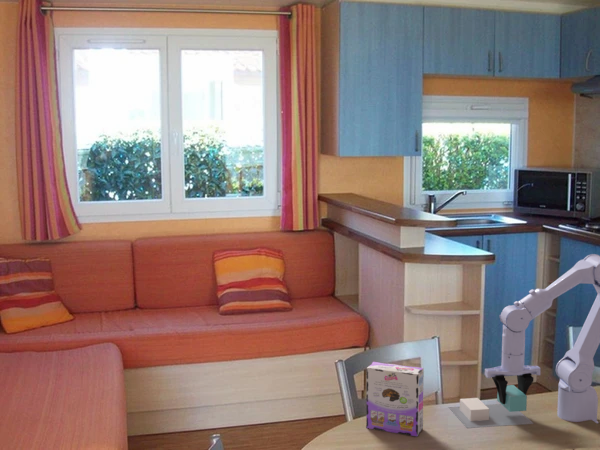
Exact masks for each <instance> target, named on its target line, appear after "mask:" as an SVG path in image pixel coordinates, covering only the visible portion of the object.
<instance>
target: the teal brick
mask: <svg viewBox="0 0 600 450" xmlns="http://www.w3.org/2000/svg"><path fill="white" fill-rule="evenodd" d="M496 391H497V390H496ZM496 394H497V395H496V397H497V398H496V401H497V402H498V404H502V403H501V402H500V400H499V395H498V391H497V393H496ZM527 399H528V395H527V394H526V395H525V394H524V393H523V392H522V391H520V390H519V389H518V386H517V387H516V386H515V385H514V384H507V388H506V402H505V404H502V405H503V406H504V407H505V408H506V409H507V410H508V411H509V412H515V411H520V412H524V411H525V412H526V411H527V401H528V400H527Z"/></svg>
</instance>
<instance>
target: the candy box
mask: <svg viewBox="0 0 600 450" xmlns="http://www.w3.org/2000/svg"><path fill="white" fill-rule="evenodd" d="M365 371H366V372H365V374H366V377H365V378H366V379H365V380H366V382H365V383H366V385H365V386H366V387H365V389H366V390H365V391H366V395H365V396H366V397H365V398H366V402H365V403H366V412H365V413H366V420H365V421H366V426H365V428H366V429H368V428H369V429H370V430H374V429H375V430H376V431H381V432H387V433H391V434H394V433H395V434H401V435H404V436H405V435H406V436H413V437H418V436H419V434H420V433H421V432H422V430H423V429H424V372H425V371H424V367H417V366H409V365H402V364H401V365H400V364H395V363H393V364H392V363H385V362H378V361H372V362H371V364H369V365H368V366H367V367H366V369H365Z"/></svg>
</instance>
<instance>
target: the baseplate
mask: <svg viewBox="0 0 600 450" xmlns="http://www.w3.org/2000/svg"><path fill="white" fill-rule="evenodd" d="M447 408H448V409H449V410H450V411H451V413H452V414H453V415H454V416H455V417H456V418H457V419H458V420H459V421H460V422H461V424H462V425H463V426H464V427H465V428H466V429H473V428H490V427H491V428H492V427H504V426H505V427H506V426H520V425H534V422H533V421H531V419H529V418H528V417H527V416H526V415H525V414H523V413H522V411H515V412H509V411H508V410H507V409H506V408H505V407H504V406H503V405H502V404H501V403H497V404H485V403H484V402H483V401H482V400H480V398H479V397H471V398H467V397H466V398H459V406H451V407H449V406H448V407H447Z"/></svg>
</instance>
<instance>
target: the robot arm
mask: <svg viewBox="0 0 600 450" xmlns="http://www.w3.org/2000/svg"><path fill="white" fill-rule="evenodd" d="M581 284H586V285H587V284H588V285H589V284H590V285H592V286H593V287H594V289H595V291H596V293H597V295H596V297H595V300H594V301H593V304H592V306H591V308H590V310H589V311H588V315H587V317H586V319H585V320H584V323H583V325H582V328H581V330H580V332H579V334H578V336H577V338H576V340H575V343H574V344H573V347H572V348H570V349H569V350H567V351H566V352H565V354H564V356H563V357H562V358H561V359H560V360H558V362H557V363H556V366H555V373H556V375H557V377H558V378H559V382H558V391H557V410H556V411H557V413H556V415H557V417H558V418H559V419H561V420H562V421H566V422H567V421H568V422H572V423H574V422H575V423H577V422H578V423H579V422H585V421H593V422H594V423H596V425H598V424H599V421H598V407H599V398H598V394H597V390H596V388H594V387H593V386H592V383H593V373H594V370H595V362H594V356H595V354H596V352H597V351H598V350H597V349H598V348H599V346H600V255H599V254H597V253H596V254H595V253H591V254H588V255H586V256H585V257H583V259H580V260H578V261H577V262H576V263H575V264H574V265H573V266H572V267H571V268H570V269H568V270H567V271H566V272H565V273H563V274H562V275H561V276H560V277H558V278H557V279H556V280H555V281H552V283H551V284H549V285H548V286H547V287H546V288H538V287H537V288H536V289H533V288H532V289H530V290H529V291H528V293H529V294H527V295H526V296H524V297H523V298H521V299H520V300H518V301H517V300H516V301H514V302H513V305H510V304H509V305H507V306H505V307H504V308H503V309H502V311H501V312H500V314H499V320H500V322H501V323H502V334H501V337H502V338H501V339H502V340H501V365H498V366H495V367H490V368H484V376H485V378H487V379H492V380H493V383H494V385H495V388H496V391H498V395H499V400H500V402H501V403H502V404H505V402H506V388H507V385H509V383H508V382H509V381H508V380H506V377H514V376H515V377H516V378H517V388H518V389H519V390H520V391H522V392H523V393H524V394H525V395H526V396H527V393H528V391H529V388H530V387H531V385H532V384H533V382H534V377H533V375H535V376H541V367H540V366H539V365H525V352H526V351H525V350H526V347H525V346H526V330H527V328H528V327H529V324H530V322H531V321H532V320H533V319H535V318H536V317H538V316H540V315H541V314H543V313H544V312H546V311H547V310H548V309H550V308H551V307H552V305H553V302H554V299H556V298H558V297H560V296H561V295H563V294H565V293H566V292H568V291H570V290H571V289H574V287H576V286H578V285H581ZM501 403H500V404H501Z"/></svg>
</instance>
